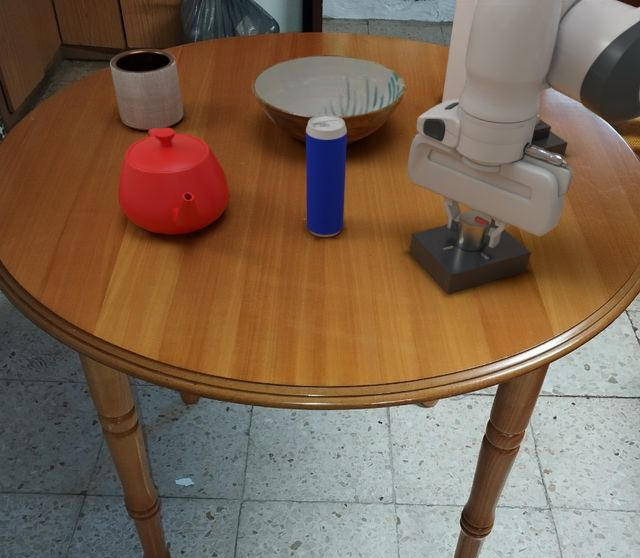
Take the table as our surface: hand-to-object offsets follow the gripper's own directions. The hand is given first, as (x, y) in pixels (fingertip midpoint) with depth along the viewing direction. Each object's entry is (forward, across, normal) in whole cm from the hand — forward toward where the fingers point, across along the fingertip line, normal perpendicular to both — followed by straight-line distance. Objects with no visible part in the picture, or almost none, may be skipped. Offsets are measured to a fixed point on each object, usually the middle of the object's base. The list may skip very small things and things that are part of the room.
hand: (472, 236), depth 88 cm
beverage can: (+4, +19, +7) cm, 21 cm away
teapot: (+4, +37, +18) cm, 41 cm away
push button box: (+4, +12, -34) cm, 36 cm away
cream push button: (+1, +12, -34) cm, 36 cm away
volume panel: (+4, 0, 0) cm, 4 cm away
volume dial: (+1, 0, 0) cm, 1 cm away
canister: (+5, +25, -43) cm, 50 cm away
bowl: (+4, +39, -16) cm, 42 cm away
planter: (+4, +65, 0) cm, 65 cm away
